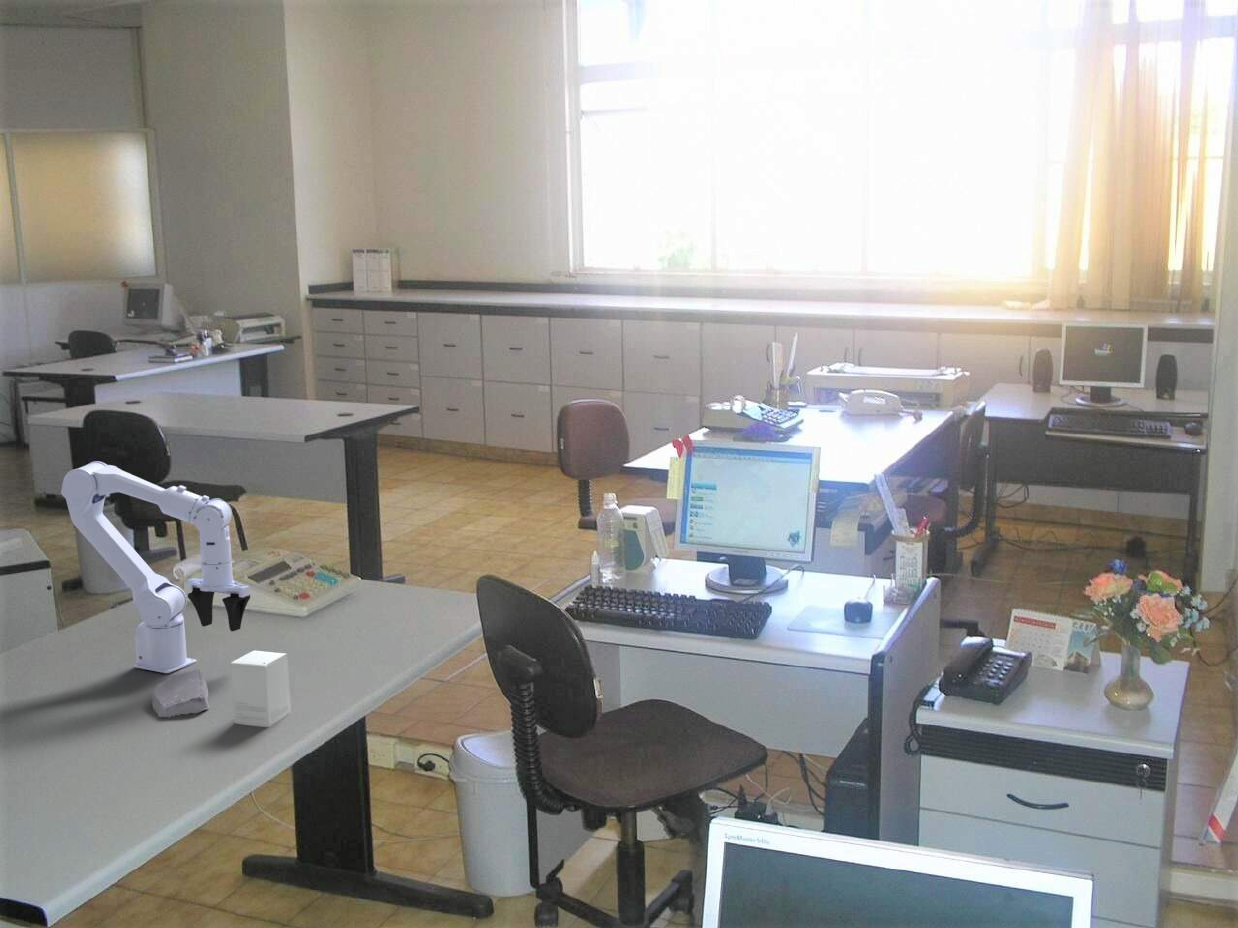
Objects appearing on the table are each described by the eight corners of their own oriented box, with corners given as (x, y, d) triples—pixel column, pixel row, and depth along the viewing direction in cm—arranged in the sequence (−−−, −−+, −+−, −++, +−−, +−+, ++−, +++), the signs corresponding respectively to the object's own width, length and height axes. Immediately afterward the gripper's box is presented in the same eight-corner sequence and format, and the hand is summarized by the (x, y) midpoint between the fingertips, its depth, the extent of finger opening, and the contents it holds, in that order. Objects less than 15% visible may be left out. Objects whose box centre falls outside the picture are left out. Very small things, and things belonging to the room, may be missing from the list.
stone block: (150, 674, 235) (206, 667, 238) (153, 698, 237) (209, 690, 240) (148, 702, 225) (207, 694, 227) (151, 727, 226) (209, 718, 229)
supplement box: (293, 719, 228) (289, 652, 226) (269, 734, 221) (264, 665, 219) (258, 715, 230) (254, 648, 228) (233, 729, 224) (229, 661, 221)
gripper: (174, 562, 248) (179, 628, 250) (229, 569, 242) (233, 637, 244) (200, 554, 254) (205, 618, 257) (255, 561, 248) (259, 627, 250)
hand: (221, 627), depth 251 cm, fingers open, 7 cm apart
